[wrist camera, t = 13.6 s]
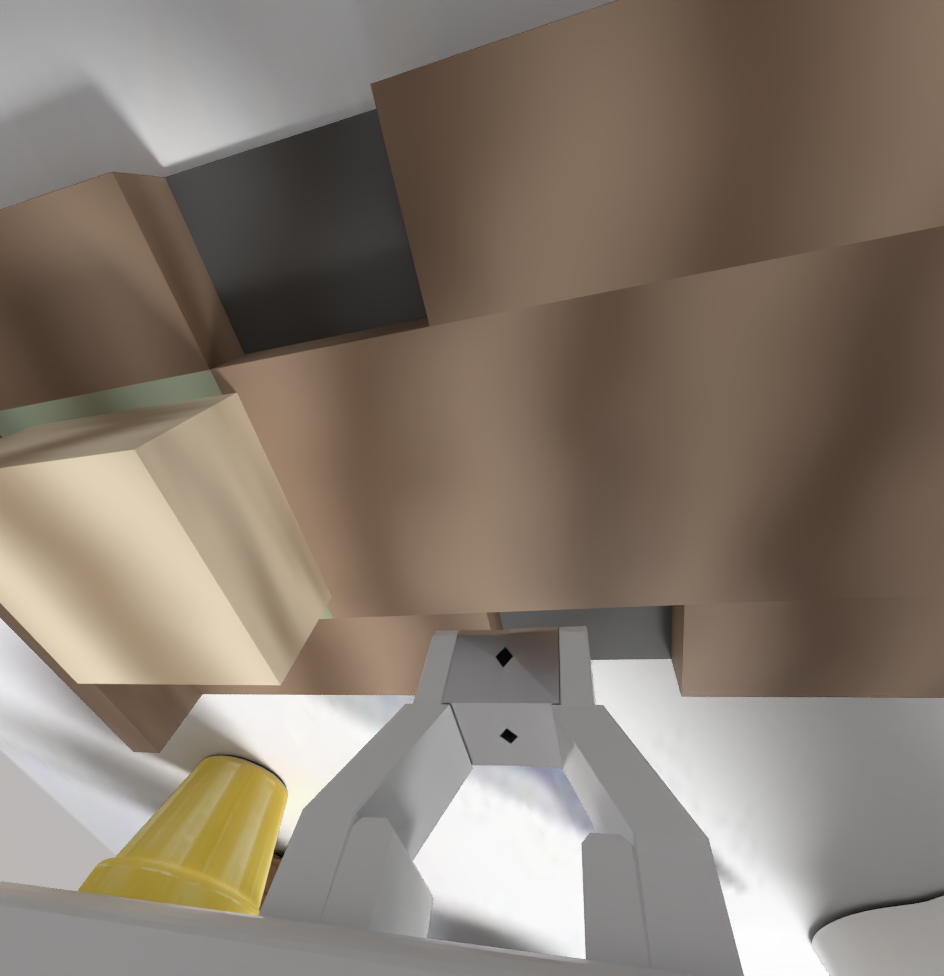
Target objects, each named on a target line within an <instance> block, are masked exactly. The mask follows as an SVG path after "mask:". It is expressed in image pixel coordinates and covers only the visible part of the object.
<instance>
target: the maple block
mask: <svg viewBox="0 0 944 976" xmlns="http://www.w3.org/2000/svg"><path fill="white" fill-rule="evenodd" d="M331 597H332V596H331V594H330V591H329V589H328V587H327V585H326V583H325V581H324V579H323V576H322V574H321V572H320V570H319V568H318V566H317V564H316V561H315V559H314V557H313V555H312V553H311V551H310V549H309V546H308V544H307V542H306V540H305V538H304V536H303V533H302V531H301V529H300V527H299V525H298V523H297V521H296V518H295V516H294V514H293V512H292V510H291V508H290V506H289V503H288V501H287V499H286V497H285V495H284V493H283V491H282V488H281V486H280V484H279V482H278V480H277V478H276V475H275V473H274V471H273V469H272V467H271V465H270V463H269V460H268V458H267V456H266V454H265V452H264V450H263V448H262V445H261V443H260V441H259V439H258V437H257V435H256V432H255V430H254V428H253V426H252V424H251V422H250V420H249V417H248V415H247V413H246V411H245V409H244V407H243V405H242V402H241V400H240V398H239V396H238V394H237V393H231V394H225V395H219V396H212V397H206V398H200V399H194V400H188V401H182V402H176V403H170V404H164V405H158V406H152V407H145V408H139V409H133V410H127V411H121V412H115V413H109V414H103V415H97V416H91V417H84V418H78V419H72V420H66V421H60V422H54V423H48V424H42V425H36V426H30V427H27V428H25V429H22V430H20V431H17V432H15V433H12V434H10V435H7V436H5V437H2V438H0V603H1V604H2V605H3V606H4V607H5V608H6V609H7V610H8V612H9V613H10V614H11V615H12V616H13V617H14V618H15V619H16V620H17V621H18V622H19V623H20V624H21V625H22V626H23V627H24V628H25V629H26V630H27V631H28V632H29V633H30V634H31V636H32V637H33V638H34V639H35V640H36V641H37V642H38V643H39V644H40V645H41V646H42V647H43V648H44V649H45V650H46V651H47V652H48V653H49V654H50V655H51V656H52V657H53V658H54V660H55V661H56V662H57V663H58V664H59V665H60V666H61V667H62V668H63V669H64V670H65V671H66V672H67V673H68V674H69V675H70V676H71V677H72V678H73V679H74V680H75V681H76V682H77V684H177V685H281V684H282V682H283V681H284V679H285V677H286V675H287V674H288V672H289V670H290V668H291V667H292V665H293V663H294V662H295V660H296V658H297V656H298V655H299V653H300V651H301V649H302V648H303V646H304V644H305V642H306V641H307V639H308V637H309V636H310V634H311V632H312V630H313V629H314V627H315V625H316V623H317V622H318V620H319V618H320V616H321V615H322V613H323V611H324V610H325V608H326V606H327V604H328V603H329V601H330V599H331Z"/></svg>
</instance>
